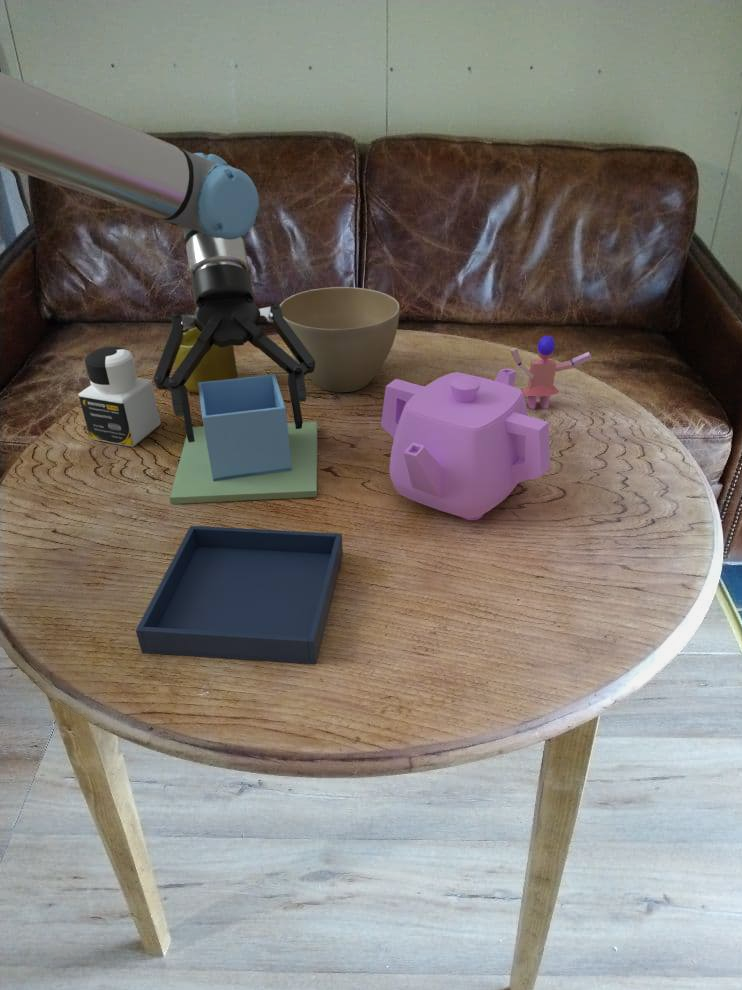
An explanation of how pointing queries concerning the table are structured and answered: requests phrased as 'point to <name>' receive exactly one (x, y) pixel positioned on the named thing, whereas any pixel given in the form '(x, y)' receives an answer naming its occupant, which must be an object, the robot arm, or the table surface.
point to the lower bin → (244, 595)
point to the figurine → (544, 372)
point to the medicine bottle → (117, 399)
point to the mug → (207, 362)
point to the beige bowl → (343, 333)
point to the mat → (298, 483)
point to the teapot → (463, 441)
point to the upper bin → (245, 427)
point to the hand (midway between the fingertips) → (245, 432)
